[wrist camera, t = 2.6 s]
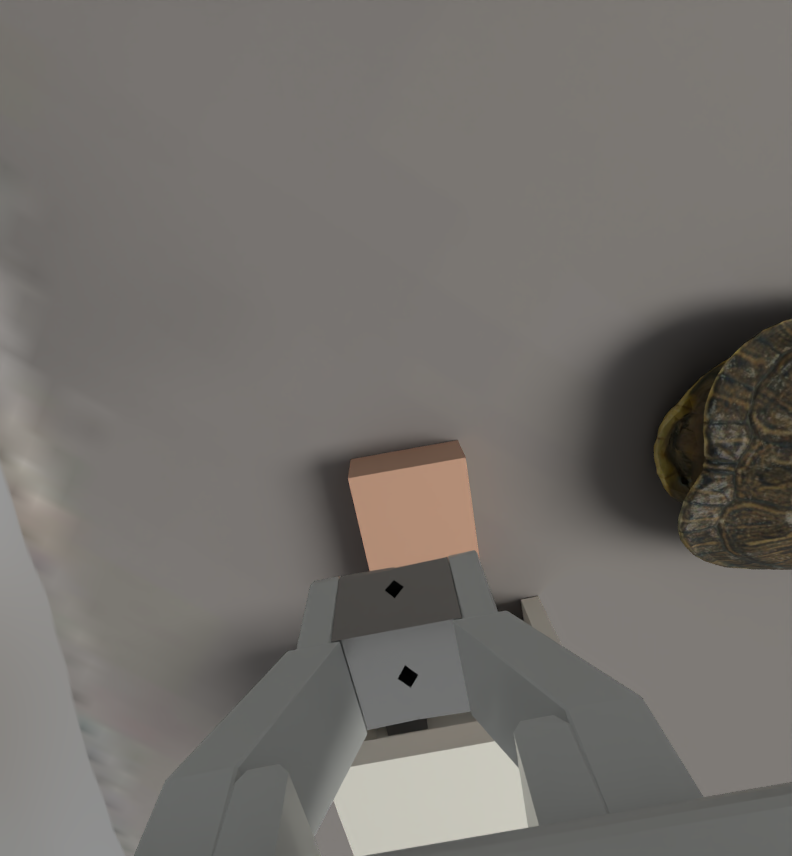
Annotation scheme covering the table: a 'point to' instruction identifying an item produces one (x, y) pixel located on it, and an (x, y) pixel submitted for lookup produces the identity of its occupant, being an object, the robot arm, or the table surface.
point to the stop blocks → (407, 727)
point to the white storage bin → (433, 780)
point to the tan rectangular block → (413, 505)
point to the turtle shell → (735, 457)
